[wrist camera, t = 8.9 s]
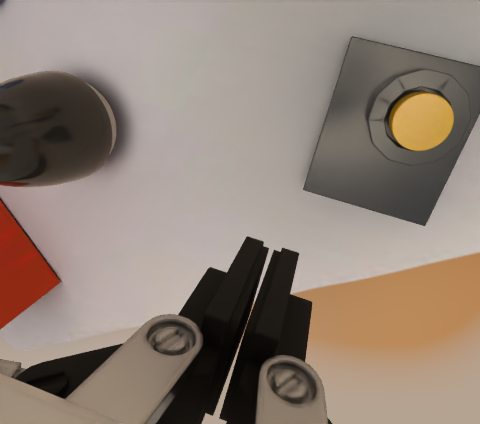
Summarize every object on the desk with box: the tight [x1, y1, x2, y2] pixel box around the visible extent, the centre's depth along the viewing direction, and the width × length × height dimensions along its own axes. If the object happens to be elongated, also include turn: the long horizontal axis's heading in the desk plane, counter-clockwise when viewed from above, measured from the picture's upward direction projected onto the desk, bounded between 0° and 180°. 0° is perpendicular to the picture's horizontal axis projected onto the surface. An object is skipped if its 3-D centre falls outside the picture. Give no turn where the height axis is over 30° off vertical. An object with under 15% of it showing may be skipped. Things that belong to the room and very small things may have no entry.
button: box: [389, 91, 454, 151], centre depth 27 cm, size 4×4×2 cm
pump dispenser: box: [0, 71, 116, 187], centre depth 33 cm, size 10×10×15 cm
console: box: [303, 37, 480, 226], centre depth 31 cm, size 13×11×4 cm
